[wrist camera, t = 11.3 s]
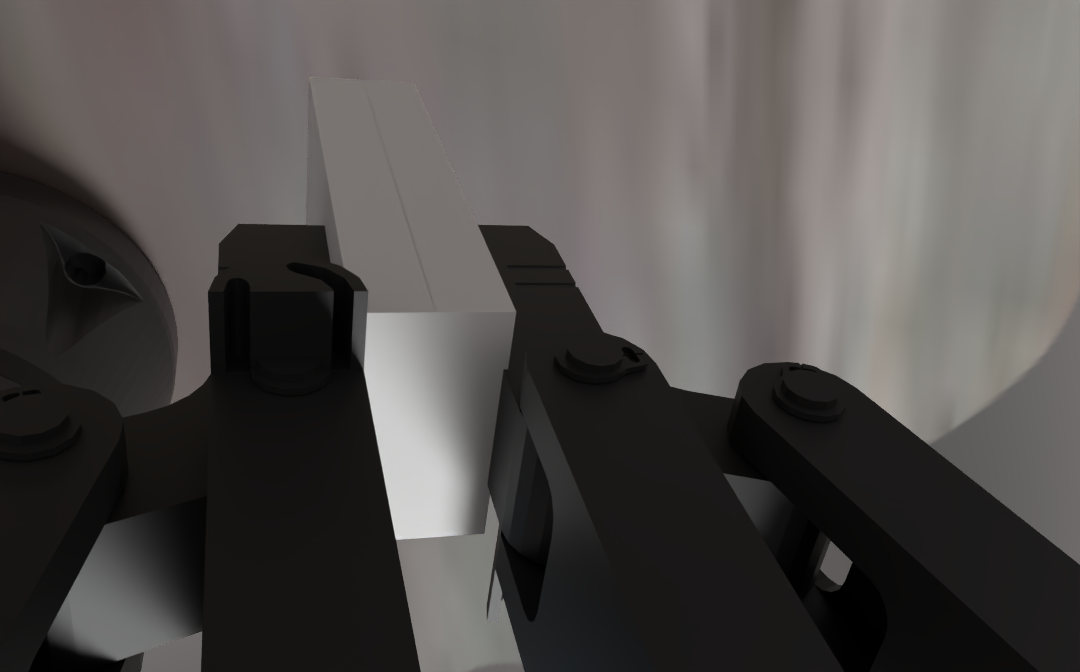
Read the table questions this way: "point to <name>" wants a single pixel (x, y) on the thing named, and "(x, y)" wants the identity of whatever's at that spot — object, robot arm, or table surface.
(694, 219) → the table surface
